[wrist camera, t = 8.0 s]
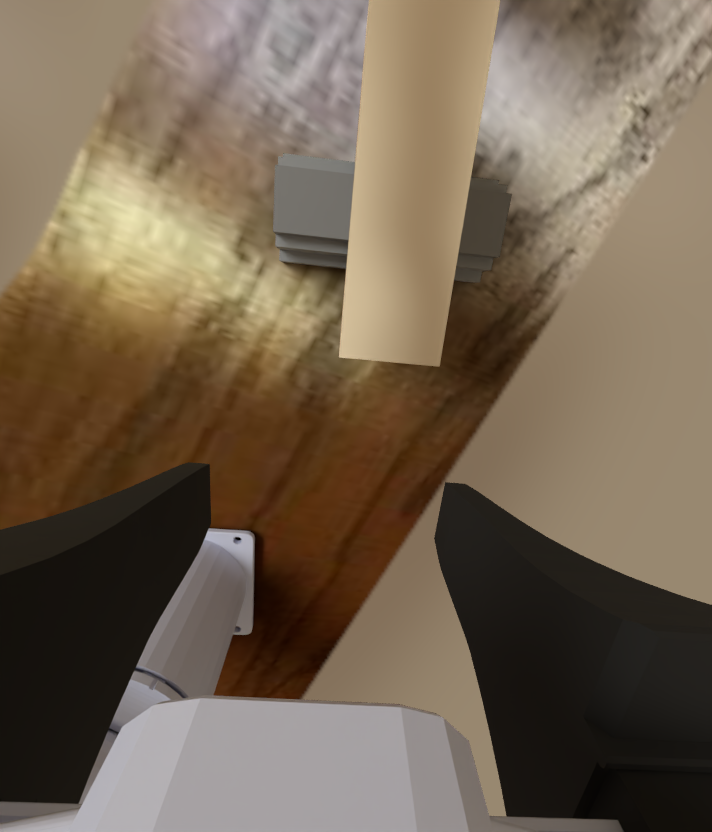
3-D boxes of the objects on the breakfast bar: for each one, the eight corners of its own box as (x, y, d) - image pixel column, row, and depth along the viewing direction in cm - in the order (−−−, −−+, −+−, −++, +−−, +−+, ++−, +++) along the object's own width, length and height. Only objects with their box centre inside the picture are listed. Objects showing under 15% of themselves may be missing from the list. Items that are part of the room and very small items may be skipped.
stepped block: (281, 262, 19) (272, 256, 16) (285, 159, 18) (275, 135, 15) (474, 282, 20) (494, 280, 17) (492, 185, 18) (517, 167, 16)
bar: (340, 341, 18) (339, 357, 13) (364, 50, 14) (375, -73, 10) (413, 348, 18) (439, 366, 13) (453, 63, 15) (508, -51, 10)
